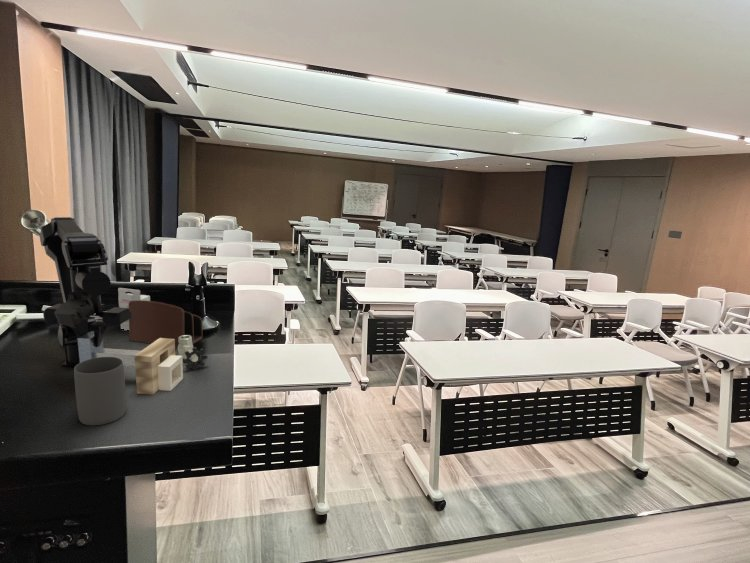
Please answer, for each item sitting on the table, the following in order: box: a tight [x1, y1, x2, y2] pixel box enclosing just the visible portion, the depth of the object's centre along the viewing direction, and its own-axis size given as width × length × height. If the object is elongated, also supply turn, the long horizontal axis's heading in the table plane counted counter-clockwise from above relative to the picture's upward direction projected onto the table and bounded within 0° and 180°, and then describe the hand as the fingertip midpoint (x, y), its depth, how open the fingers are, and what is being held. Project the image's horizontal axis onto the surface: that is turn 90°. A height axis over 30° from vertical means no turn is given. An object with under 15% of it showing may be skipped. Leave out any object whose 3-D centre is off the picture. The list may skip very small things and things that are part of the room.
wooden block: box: [134, 338, 176, 396], centre depth 110 cm, size 4×12×10 cm, turn 179°
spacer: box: [157, 354, 184, 392], centre depth 111 cm, size 3×7×6 cm, turn 0°
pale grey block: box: [78, 331, 141, 367], centre depth 110 cm, size 17×5×9 cm, turn 89°
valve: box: [177, 335, 208, 371], centre depth 124 cm, size 7×7×12 cm
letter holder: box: [128, 300, 204, 349], centre depth 138 cm, size 10×20×14 cm, turn 77°
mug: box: [73, 357, 127, 426], centre depth 96 cm, size 14×9×12 cm
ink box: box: [117, 287, 151, 331], centre depth 146 cm, size 9×5×15 cm, turn 81°
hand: (91, 346), depth 109 cm, fingers closed on pale grey block, 3 cm apart
